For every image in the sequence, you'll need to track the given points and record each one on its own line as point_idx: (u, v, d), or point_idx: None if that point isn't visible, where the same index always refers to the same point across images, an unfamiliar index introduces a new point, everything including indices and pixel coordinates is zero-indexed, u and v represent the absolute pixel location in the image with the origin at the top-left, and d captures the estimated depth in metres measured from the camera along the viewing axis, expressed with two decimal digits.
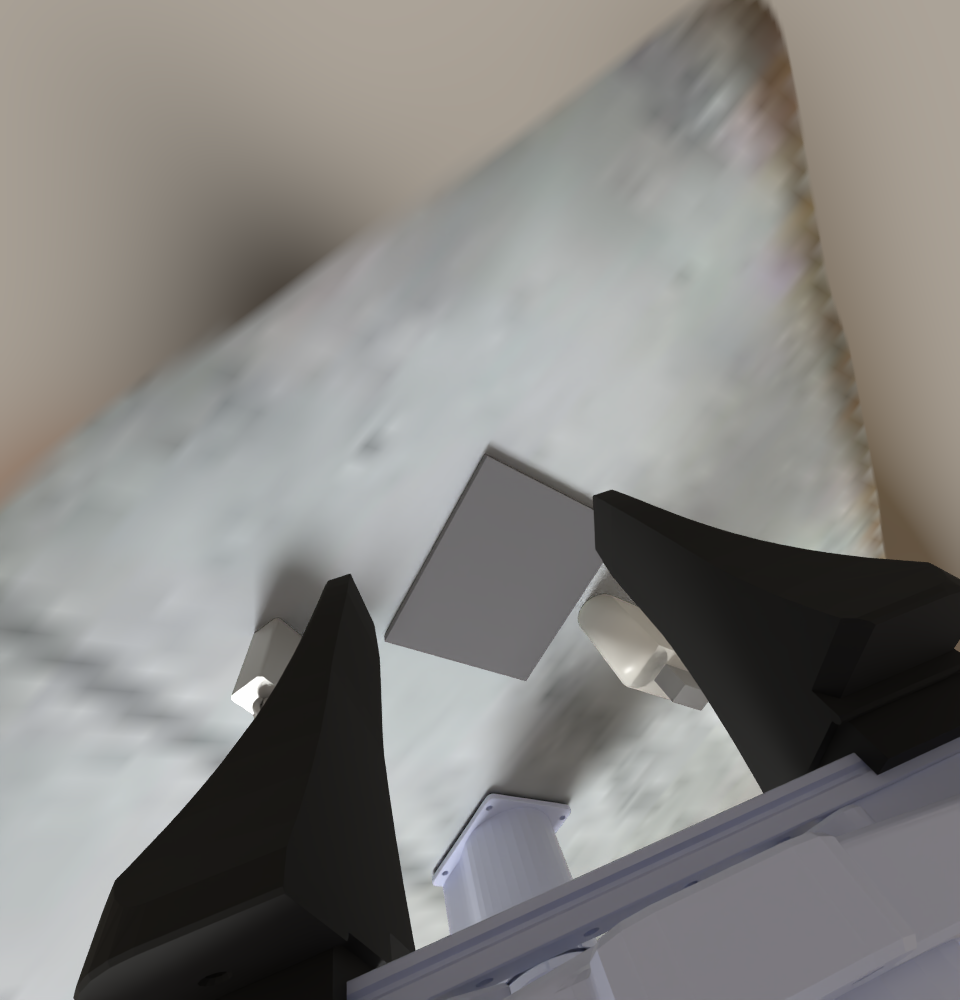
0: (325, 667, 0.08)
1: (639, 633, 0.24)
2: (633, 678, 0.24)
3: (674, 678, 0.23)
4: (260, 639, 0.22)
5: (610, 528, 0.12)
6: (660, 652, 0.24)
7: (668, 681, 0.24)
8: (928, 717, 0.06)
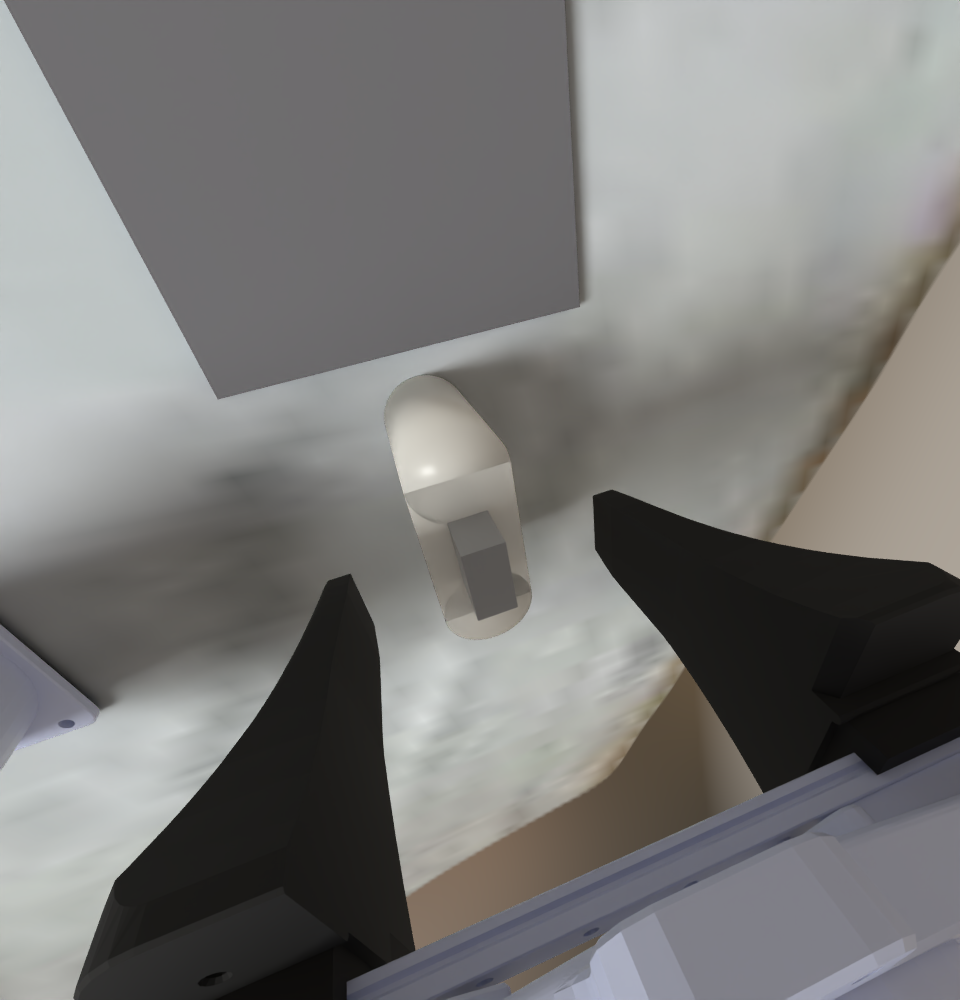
0: (325, 667, 0.08)
1: None
2: (424, 482, 0.11)
3: (489, 530, 0.11)
4: None
5: (610, 528, 0.12)
6: (500, 478, 0.12)
7: (474, 530, 0.11)
8: (928, 717, 0.06)
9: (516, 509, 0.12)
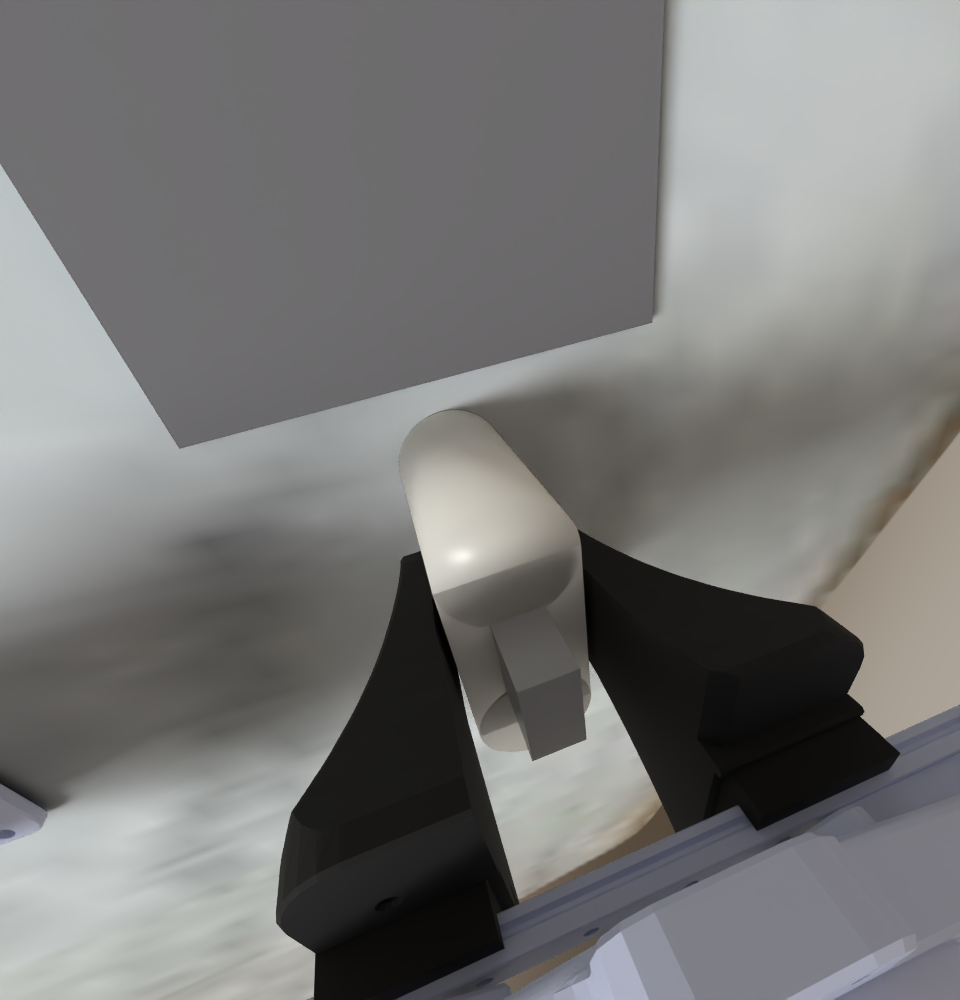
0: (428, 631, 0.08)
1: (550, 496, 0.09)
2: (462, 578, 0.08)
3: (553, 643, 0.08)
4: None
5: None
6: (565, 566, 0.08)
7: (531, 642, 0.08)
8: (811, 770, 0.06)
9: (582, 602, 0.09)
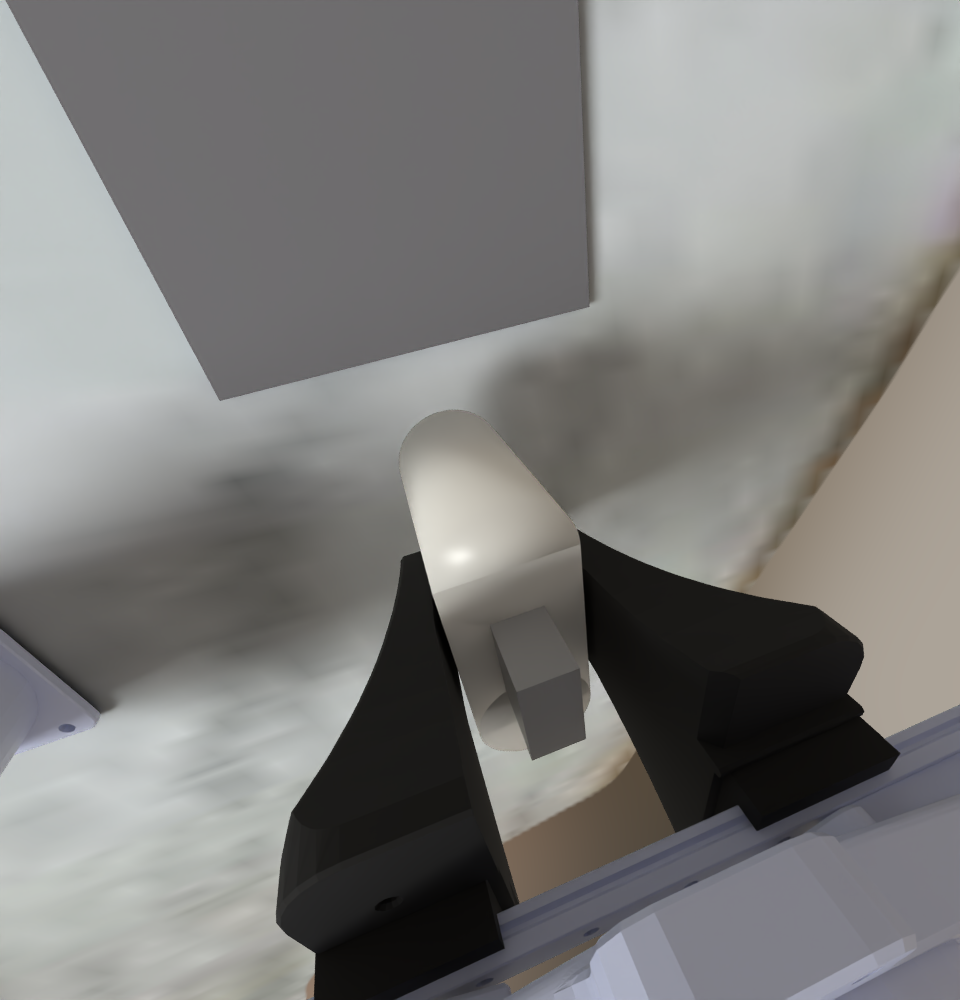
0: (428, 631, 0.08)
1: (550, 496, 0.09)
2: (461, 578, 0.08)
3: (552, 642, 0.08)
4: None
5: None
6: (564, 566, 0.08)
7: (530, 642, 0.08)
8: (811, 770, 0.06)
9: (581, 601, 0.09)
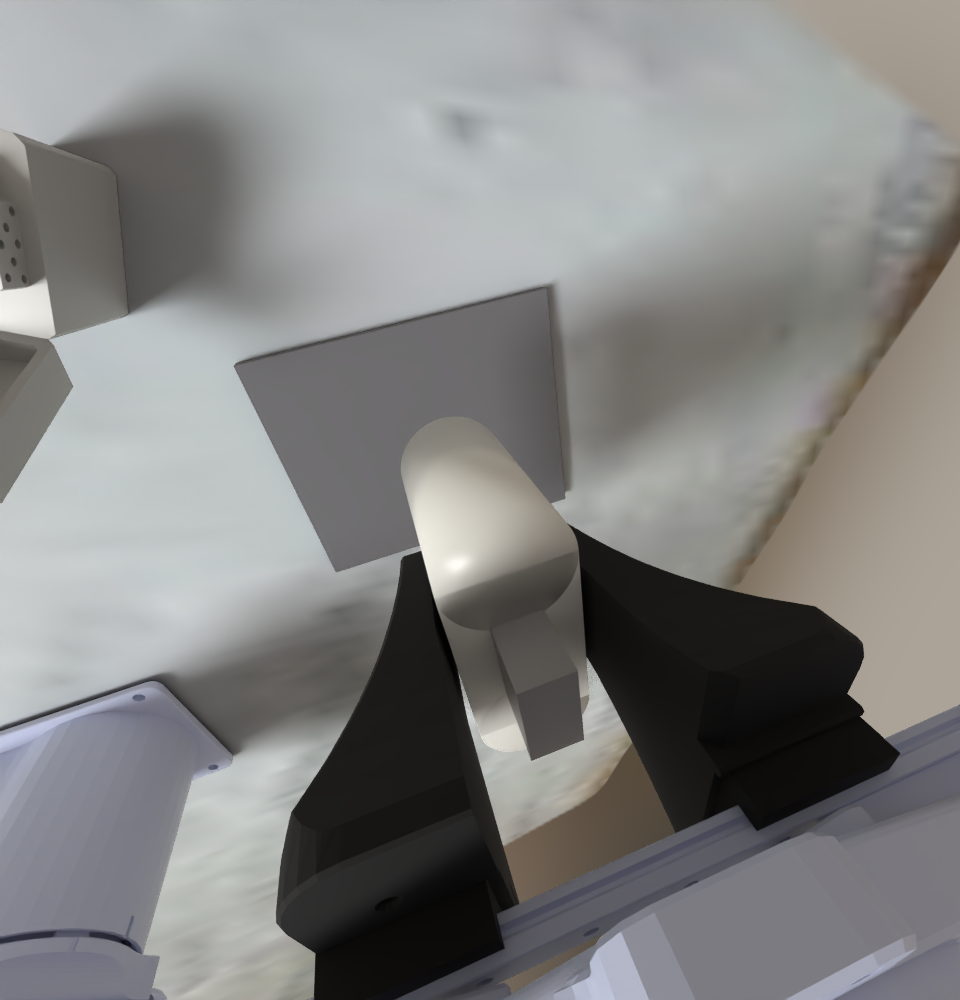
0: (428, 631, 0.08)
1: (549, 503, 0.09)
2: (462, 583, 0.08)
3: (551, 646, 0.08)
4: None
5: None
6: (563, 571, 0.09)
7: (530, 645, 0.08)
8: (812, 770, 0.06)
9: (580, 605, 0.09)
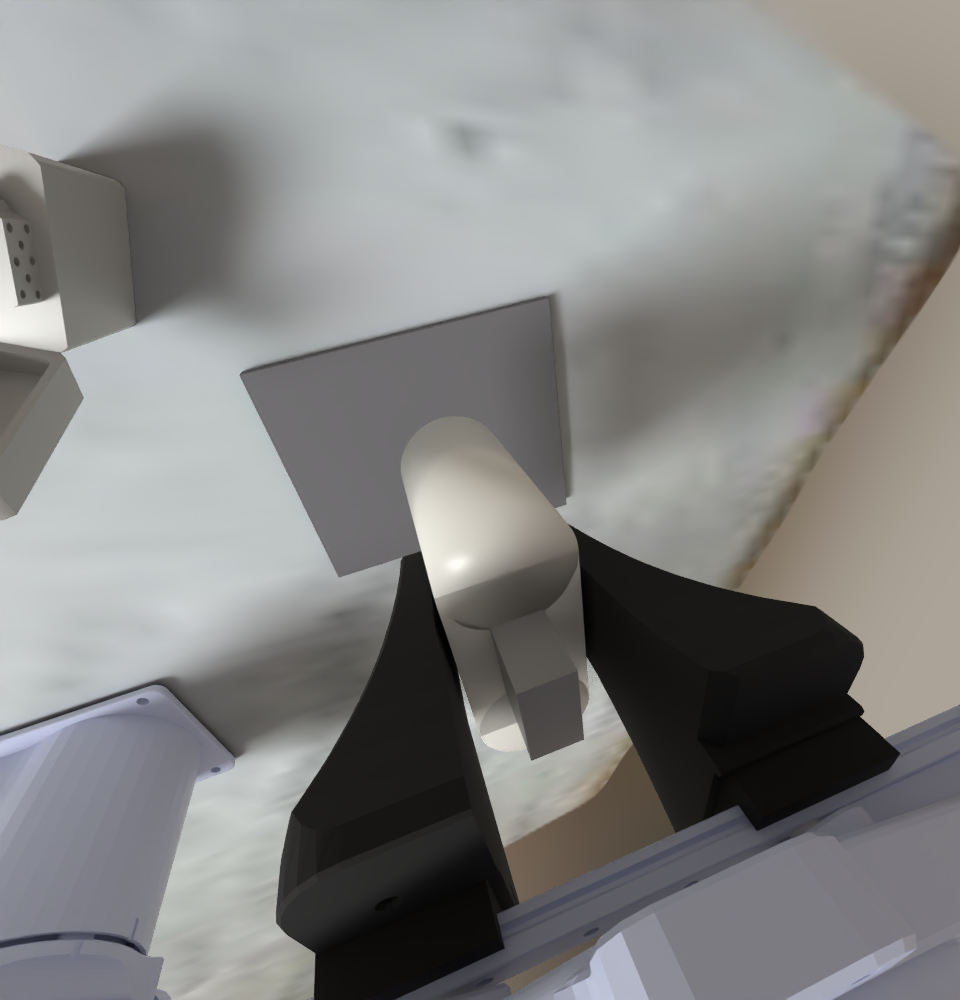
0: (428, 631, 0.08)
1: (549, 502, 0.09)
2: (463, 583, 0.08)
3: (551, 645, 0.08)
4: None
5: None
6: (563, 570, 0.09)
7: (530, 645, 0.08)
8: (811, 770, 0.06)
9: (580, 605, 0.09)
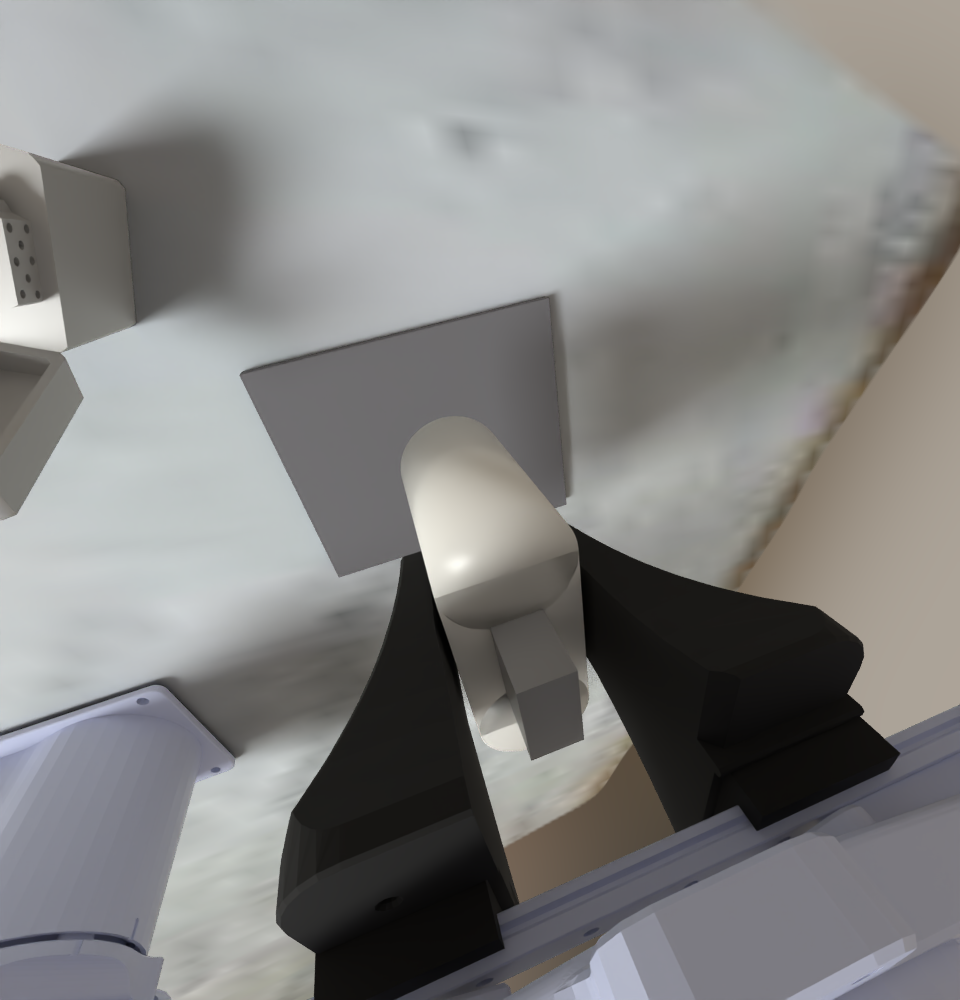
0: (428, 631, 0.08)
1: (549, 502, 0.09)
2: (463, 583, 0.08)
3: (551, 645, 0.08)
4: None
5: None
6: (563, 570, 0.09)
7: (530, 645, 0.08)
8: (811, 770, 0.06)
9: (580, 605, 0.09)
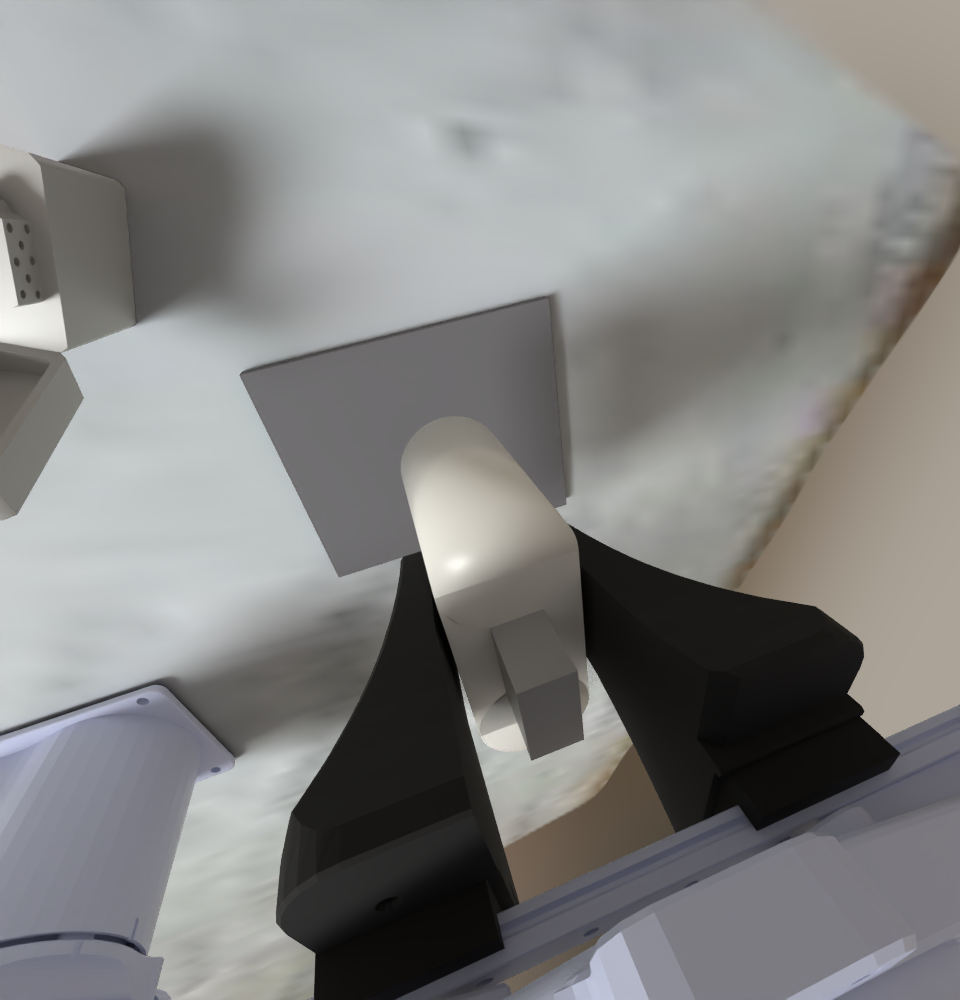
0: (428, 631, 0.08)
1: (549, 502, 0.09)
2: (463, 583, 0.08)
3: (551, 645, 0.08)
4: None
5: None
6: (563, 570, 0.09)
7: (530, 645, 0.08)
8: (811, 770, 0.06)
9: (580, 605, 0.09)
